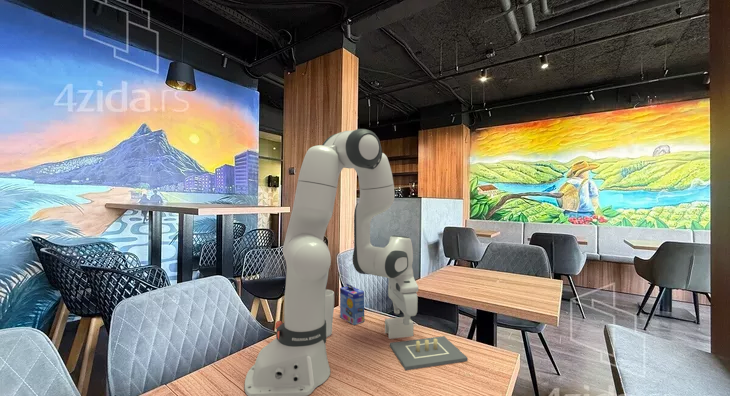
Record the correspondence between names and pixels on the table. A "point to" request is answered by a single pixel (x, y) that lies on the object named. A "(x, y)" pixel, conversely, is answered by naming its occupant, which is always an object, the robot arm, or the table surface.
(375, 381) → the table surface
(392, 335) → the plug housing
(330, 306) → the drinking glass
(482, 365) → the table surface
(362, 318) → the ink cartridge box
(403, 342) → the board
